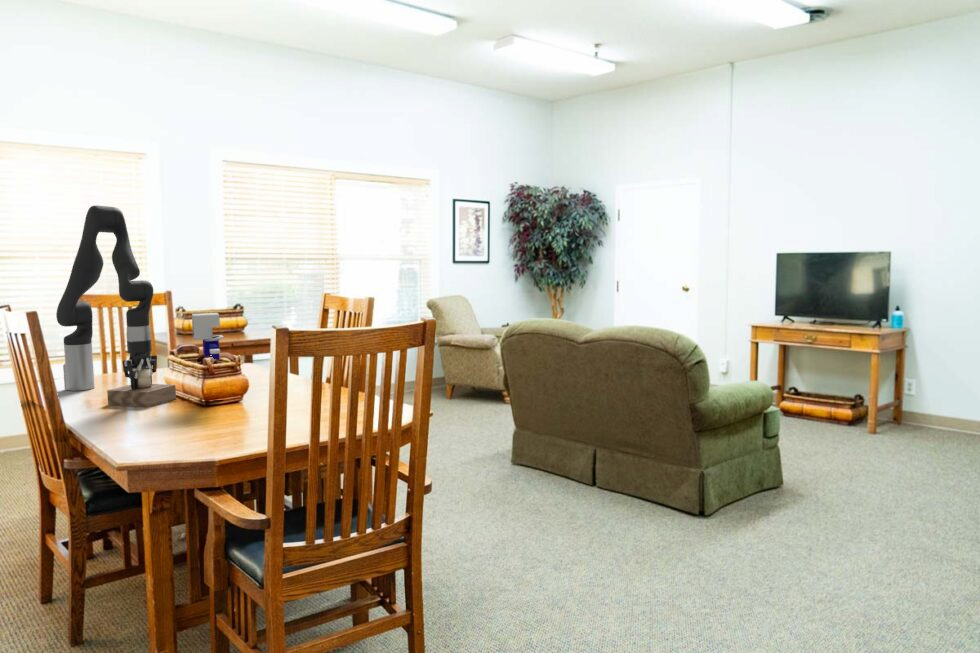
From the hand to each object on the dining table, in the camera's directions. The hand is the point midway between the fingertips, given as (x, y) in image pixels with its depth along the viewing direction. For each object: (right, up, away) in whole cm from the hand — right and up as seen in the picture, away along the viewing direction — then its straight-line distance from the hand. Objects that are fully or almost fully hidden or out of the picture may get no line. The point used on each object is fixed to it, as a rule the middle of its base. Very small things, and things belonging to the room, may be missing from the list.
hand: (141, 387), depth 255 cm
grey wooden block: (0, -5, +1) cm, 5 cm away
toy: (+23, -5, +3) cm, 23 cm away
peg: (0, -4, 0) cm, 4 cm away
